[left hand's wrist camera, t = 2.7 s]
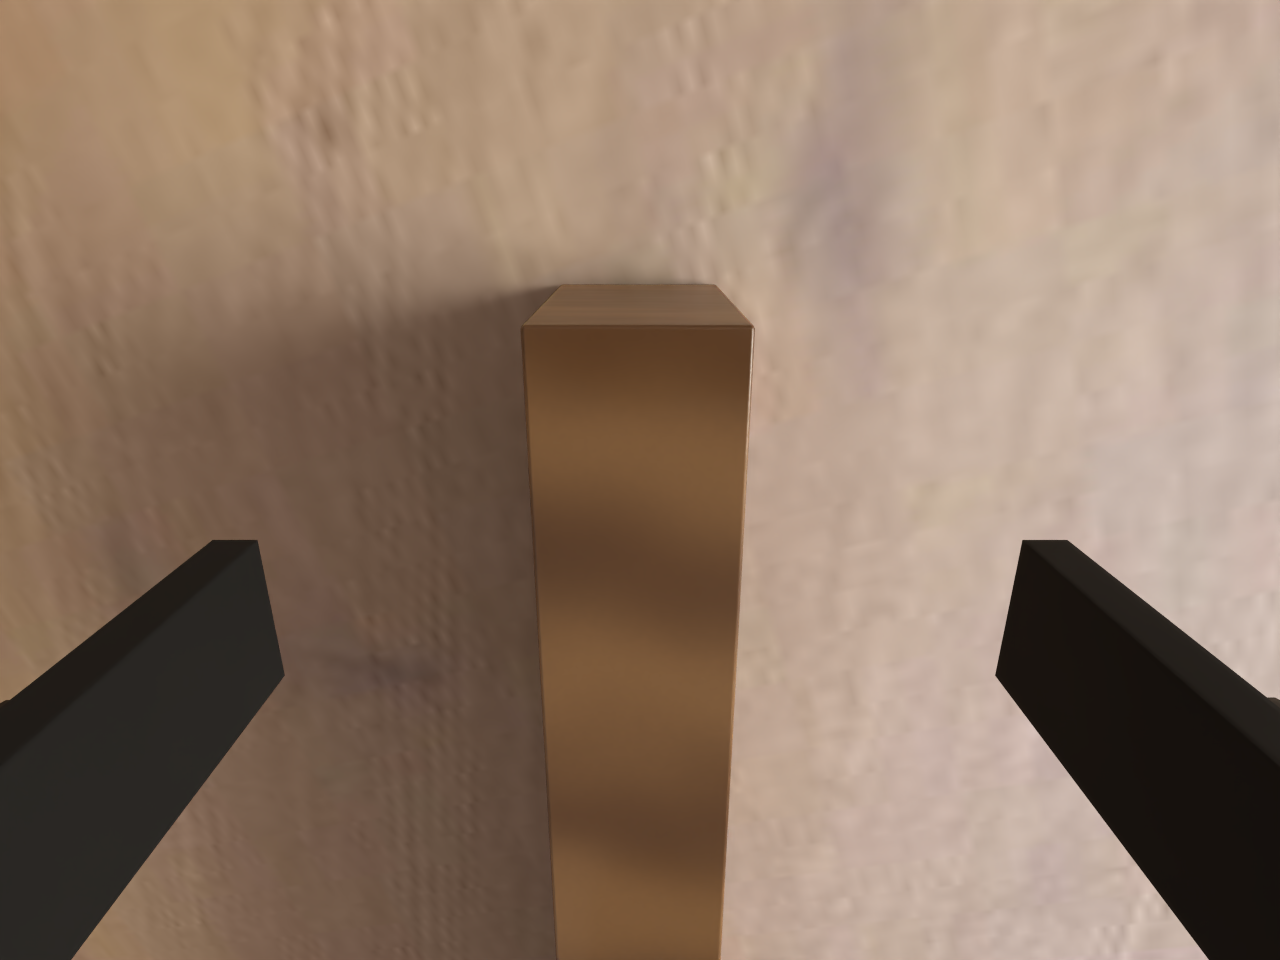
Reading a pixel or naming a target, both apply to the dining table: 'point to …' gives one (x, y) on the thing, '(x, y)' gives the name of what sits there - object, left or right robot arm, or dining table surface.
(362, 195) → the dining table surface
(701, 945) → the beam
